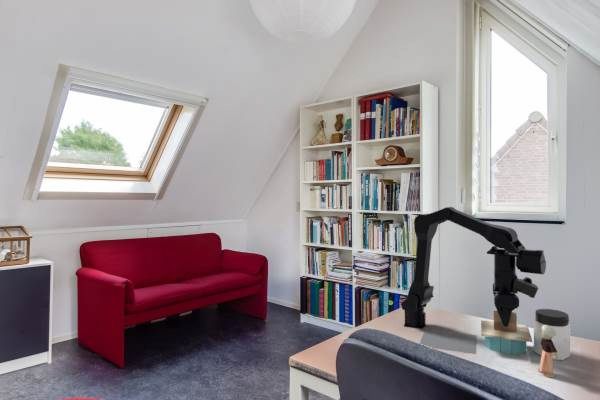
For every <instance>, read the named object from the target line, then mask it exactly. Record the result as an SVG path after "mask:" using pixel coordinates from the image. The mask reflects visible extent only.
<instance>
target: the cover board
mask: <svg viewBox="0 0 600 400" xmlns="http://www.w3.org/2000/svg"><path fill="white" fill-rule="evenodd" d="M517 317H518V316H517V313H516V312H515V311H514V312H513V311H512V313H511V317H510V321H509V324H508V327H505V326H503V323H502V321H501V318H500V316H499V314H498V311H497V310H493V321H491V320H489V321H488V320H482V319H481V321H480V331H481V335H480V336H481V337H485V336H486V337H494V338H502V339H511V340H519V341H526V343H527V342H529V343H533V338H532V335H531V332H530V330H529V327H528V325H527V324H520V323H518V322H517V320H518V319H517Z"/></svg>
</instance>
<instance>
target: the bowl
mask: <svg viewBox="0 0 600 400" xmlns="http://www.w3.org/2000/svg"><path fill="white" fill-rule="evenodd" d="M484 346H485V348H488V349H489V350H491V351H493V352H496V353H498V354H500V353H501V354H504V355H505V354H506V355H522V354H524V353H526V352H527V341H519V340H511V339H502V338H494V337H486V336H484Z"/></svg>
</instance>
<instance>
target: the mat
mask: <svg viewBox="0 0 600 400" xmlns="http://www.w3.org/2000/svg"><path fill="white" fill-rule="evenodd" d="M419 344H423V345H426V346H429V347H432V348H431V349H436V350H437V349H438V350H444V351H453V352H458V353H466V354H472V355H476V354H477V334H472V333H471V334H470V333H462V332H453V331H447V330H438V329H430V328H429V329H428V328H425V329H424V331H423V334H422V336H421V339H420V341H419ZM429 347H428V348H429Z"/></svg>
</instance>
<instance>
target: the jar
mask: <svg viewBox="0 0 600 400" xmlns="http://www.w3.org/2000/svg"><path fill="white" fill-rule="evenodd" d="M534 314H535V319H533V352H535V353H536V354H537V355H539V356H540V357H542V351H543V350H542V349H540V345H541V339H542V338H543V337H542V335H541V332H542V329H541V328H542V326H543V325H547V326H550V327H552V328H553V329H554V331H555V332H556V334H557V335H556V336H554V337H552V339H551V340H552V342H553V344H554V346H555V348H556V350H557V357H558V359H557V360H558V361H563V360H566V359H568V358H570V357H571V323H570V322H569V321H570V318H569V314H568V313H567V312H564V311H561V310H559V309H558V310H557V309H551V308H539V309H536V310H535V313H534ZM552 358H553V355H552ZM557 360H556V361H557Z"/></svg>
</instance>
